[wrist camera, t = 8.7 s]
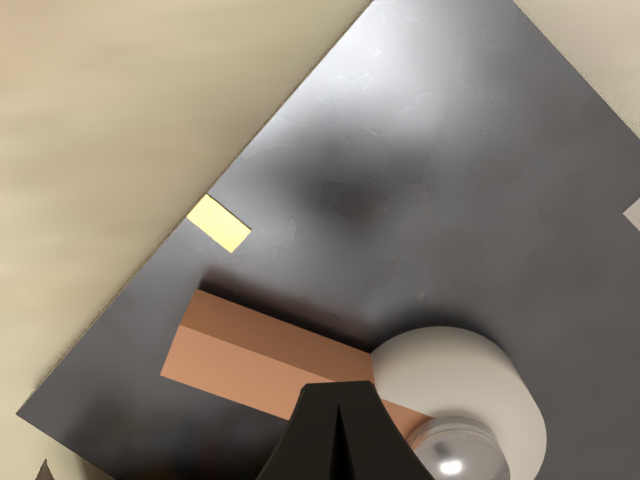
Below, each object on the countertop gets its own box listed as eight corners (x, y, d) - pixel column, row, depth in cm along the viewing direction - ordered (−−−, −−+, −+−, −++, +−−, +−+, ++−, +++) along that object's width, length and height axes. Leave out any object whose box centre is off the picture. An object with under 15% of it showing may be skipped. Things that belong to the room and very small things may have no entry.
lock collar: (553, 363, 20) (584, 406, 17) (469, 492, 22) (487, 546, 19) (218, 231, 18) (203, 261, 16) (159, 384, 20) (138, 429, 18)
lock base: (823, 354, 22) (983, 459, 17) (421, 646, 27) (445, 795, 22) (430, -69, 17) (480, -111, 12) (34, 389, 22) (-54, 502, 17)
